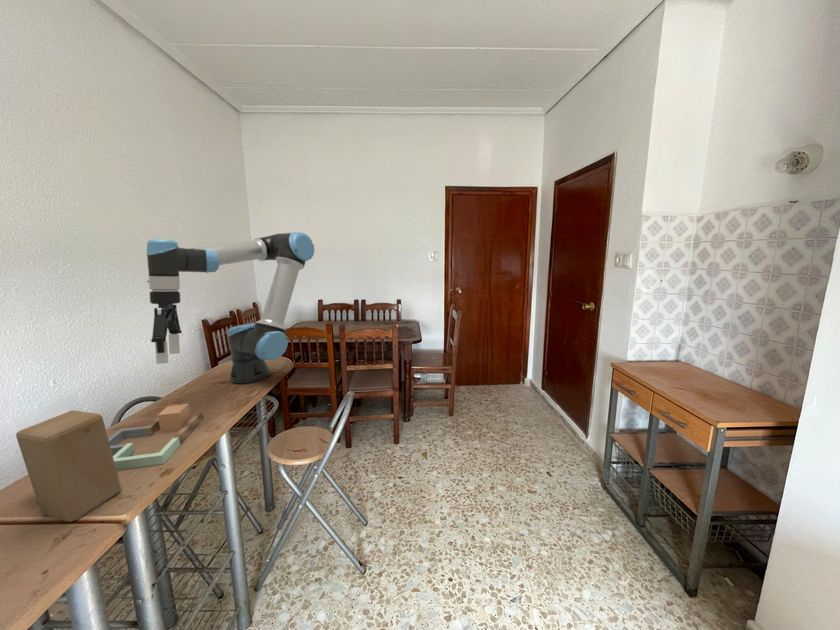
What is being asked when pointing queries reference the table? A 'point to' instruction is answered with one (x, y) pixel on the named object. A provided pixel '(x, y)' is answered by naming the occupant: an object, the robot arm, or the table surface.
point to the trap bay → (124, 437)
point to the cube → (174, 418)
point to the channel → (183, 432)
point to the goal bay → (143, 456)
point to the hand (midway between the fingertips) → (168, 358)
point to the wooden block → (69, 464)
